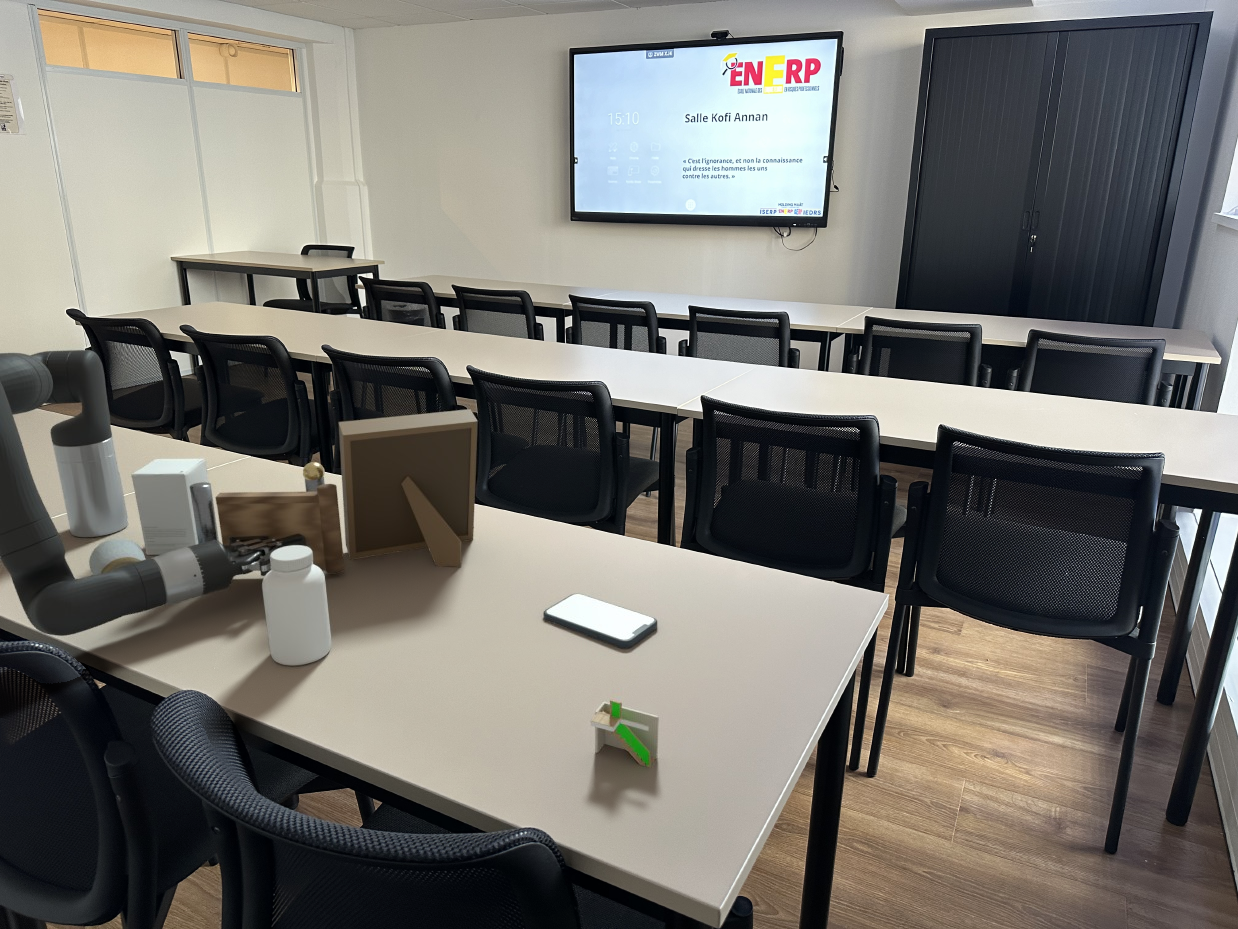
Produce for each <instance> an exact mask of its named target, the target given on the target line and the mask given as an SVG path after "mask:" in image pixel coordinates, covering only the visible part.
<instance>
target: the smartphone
mask: <svg viewBox="0 0 1238 929" xmlns="http://www.w3.org/2000/svg"><path fill="white" fill-rule="evenodd" d="M543 620H545V621H547V622H550V623H551V624H552V623H553V624H555V625H557V626H560V627H563V628H566V629H568V630H571V631H573V632H576V633H578V634H581V635H584V636H587V637H590V638H591V639H595V640H598V641H600V642H602V643H605V644H608V645H611V646H613V647H616V648H619V649H622V650H623V649H624V650H627V649H631V648H633V647H634V646H636V645H637V644H639V643H640V642H641V641H643V640H644V639H645V638H647V637H648V636H649V635H650V634H652V633H653V632H655V631H656V630H657V629H658V620H657V619H656V617H652V616H650V615H647V614H643V613H641V612H637V611H634V610H632V609H628V608H626V607H621V606H619V605H616V604H612V603H610V602H608V601H603V600H600V599H597V598H595V597H591V596H589V595H586V594H583V593H573V594H570V595H568V596H567V597H565V598H563V599H562V600H560V601H558V602H556V603H555V604H553V605H551V606H550V607H548V608H547V609H544V611H543Z"/></svg>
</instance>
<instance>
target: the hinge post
mask: <svg viewBox="0 0 1238 929" xmlns="http://www.w3.org/2000/svg"><path fill="white" fill-rule="evenodd" d="M190 493H191V499H192V505H193V512H194V518H195V525H196V531H197V537H198V544H200V543H204V542H207V541H211V540H217V541H219V542H220V540H219V533H218V526H217V520H216V519H217V518H216V512H215V506H214V497H213V491H212V484H211V483H210V482H209V483H207V482H201V483H195V484H192V485H191V486H190Z"/></svg>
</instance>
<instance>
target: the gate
mask: <svg viewBox="0 0 1238 929" xmlns="http://www.w3.org/2000/svg"><path fill="white" fill-rule="evenodd" d="M338 498H339V497H338V488H337V485H336V484H335V483H334V484H333V483H325V484H323V485H320V486H318V487H317V492H306V491H257V492H256V491H254V492H253V491H250V492H249V491H247V492H245V491H244V492H243V491H240V492H231V491H230V492H219V493H218V494H217V495H216V496H215V504H216V509H217V514H218V515H217V516H218V521H219V527H220V535H221V542H222V543H221V544H222V545H223V546H226V545H229V544H230V541H229V538H231V537H244V536H269V539H271V538H277V539H280V538H284V537H288V536H291V535H295V534H301V535H303V536H304V537H305V541H306V547H309V548H310V549H311V550H312V553H313V564H314V565H316V566H318V567H319V568H320V569H321V570H322V571H323V570H324V571H325V573H326V574H328V575H329V574H331V575H335V574H339V573H342V572H344V571H345V568H346V567H345V561H344V560H345V559H344V549H343V538H342V527H341V518H340V510H339V509H340V508H339V499H338ZM253 572H256V570H254V571H253Z"/></svg>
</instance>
